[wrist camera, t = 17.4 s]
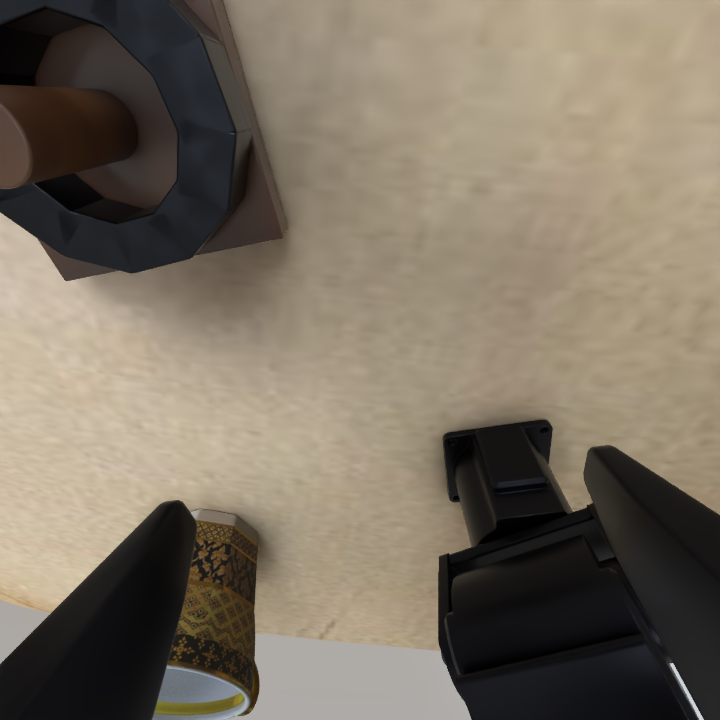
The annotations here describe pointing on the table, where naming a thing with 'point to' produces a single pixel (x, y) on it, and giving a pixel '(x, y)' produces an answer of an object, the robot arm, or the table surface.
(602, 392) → the table surface
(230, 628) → the ceramic cup
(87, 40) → the peg stand
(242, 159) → the ring
